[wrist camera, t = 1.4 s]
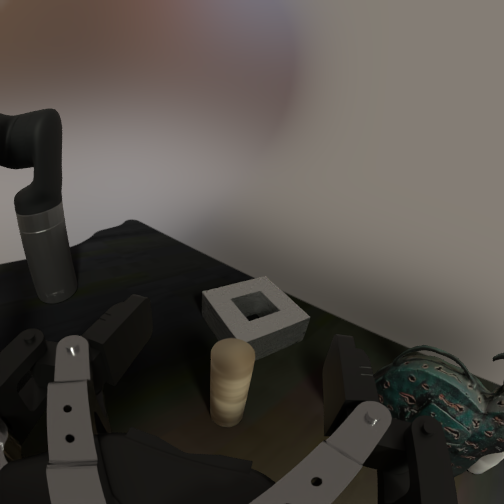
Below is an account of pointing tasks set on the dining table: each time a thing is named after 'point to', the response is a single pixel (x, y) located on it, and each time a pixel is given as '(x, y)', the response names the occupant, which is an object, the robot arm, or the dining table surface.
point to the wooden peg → (230, 380)
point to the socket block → (249, 303)
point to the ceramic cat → (445, 403)
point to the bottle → (486, 463)
